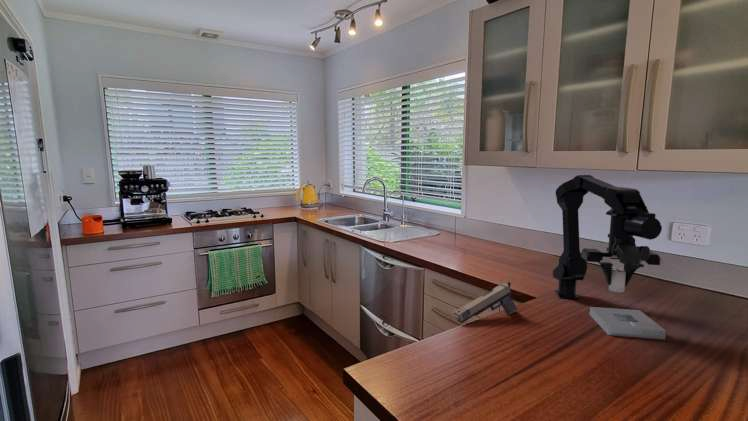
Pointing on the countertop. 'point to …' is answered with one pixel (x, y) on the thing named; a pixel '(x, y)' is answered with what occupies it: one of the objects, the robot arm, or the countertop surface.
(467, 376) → the countertop surface
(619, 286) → the knob
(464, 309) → the toy gun
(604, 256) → the robot arm
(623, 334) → the plate
